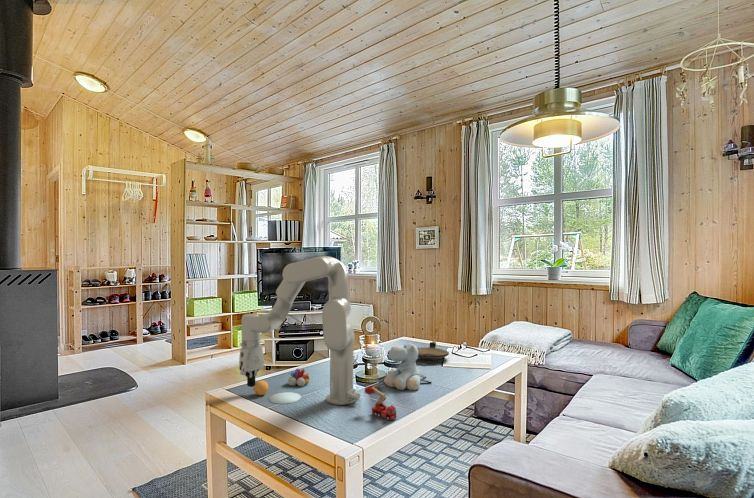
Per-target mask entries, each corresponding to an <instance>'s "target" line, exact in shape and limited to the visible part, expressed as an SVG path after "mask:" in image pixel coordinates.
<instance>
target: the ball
mask: <svg viewBox="0 0 754 498" xmlns="http://www.w3.org/2000/svg"><path fill="white" fill-rule="evenodd" d="M253 391H254V393H255V394H256V395H258V396H263V395H265V394H267V392H268V391H269V384H268V382H267V381H265V380H262V379H261V380H259V381H257V382H255V385H254V386H253Z"/></svg>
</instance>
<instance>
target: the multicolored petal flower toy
mask: <svg viewBox="0 0 754 498" xmlns="http://www.w3.org/2000/svg"><path fill="white" fill-rule="evenodd" d="M305 371H306V370H305V369H304V368H303V369H301V370H300V368H298V367H297V368H295V370H294V371H293V370H292V371H290V377H288V381H287V382H288V385H289V386H291V387H295V386H296V385H297V386H298V387H304V386H305V385H306V384H309V382H310V380H311V379H310V377H311V376H309V373H305Z"/></svg>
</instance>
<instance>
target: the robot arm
mask: <svg viewBox="0 0 754 498" xmlns="http://www.w3.org/2000/svg"><path fill="white" fill-rule="evenodd" d="M321 278H323V279H324V278H327V279H328V286H327V287H328V288H327V289H328V301H326V302H325V304H324V305H323V308H322V314H321V315H322V316H321V318H322V319H321V320H322V335H323V341H324V345H325V346H326V348H327V349H328V350H330V351H329V353H330V354H329V355H330V356H329V394H328V395H327V396H326V397H325V400H326V402H327V403H329V404H332V405H336V406H344V405H349V404H353V403H355V402H356V401H359V400H360V397H361V394H360V393H359V392H356V388H354V346H355V330H354V328H353V327H352V325H351V324H349V323H347V318H348V317H349V316H350V314H351V311H352V307H351V298H350V287H349V286H350V285H349V275H348V270H347V268H346V266H345V265H344V264H343V262H342V261H340V260H339V259H337V258H336V257H333V256H330V255H329V256H328V255H327V256H326V255H324V256H323V255H322V256H316V257H311V258H307V259H305V260H300V261H297V262H291V263H288V264H287V265H286V266H284V268H283V270H282V281H281V282H280V284H279V285H278V287H277V289H276V290H275V294H276V301H275V302H274V303H275V304H274V305H273V307H272V308H271V310H270V311H269V312H268V313H266V314H263V315H259V314H257V313H249V314H244V315H242V316H241V342H240V343H239V344H240V351H239V358H238V360H239V361H238V365H239V366H238V368H239V371H240V376H241V375H242V376H245V378H246V379H247V380H246V383H247V384H246V385H247V387H250V388H254V385H255V384H256V377H257V376H258V375H257V374H258V372H259V371H261V370H262V368H263V367H264V365H265V363H264V361H265V359H264V351H263V346H262V344H261V334H268V333H271V332H272V331H274V330H277V329H279V328H280V326H281V325H282V324H283V322H284V321H285V320H286V318H287V317H288V315H289V314H290V311H291V309H292V306H293V303H294V301H295V299H296V298H297V296H298V294H299V293H300V292H301V290H302V288H303V286H304V285H305V283H306V282H309V281H314V280H317V279H321Z"/></svg>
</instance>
